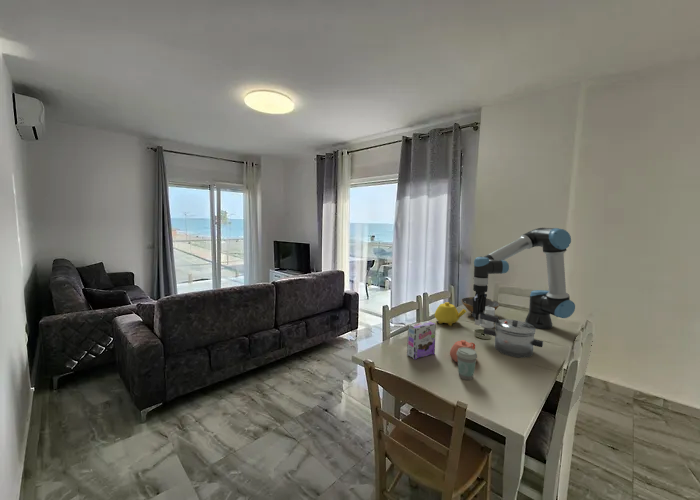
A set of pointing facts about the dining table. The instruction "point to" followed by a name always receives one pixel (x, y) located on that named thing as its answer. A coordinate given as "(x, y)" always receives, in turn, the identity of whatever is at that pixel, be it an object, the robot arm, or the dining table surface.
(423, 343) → the candy box
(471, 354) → the coffee cup
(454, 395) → the dining table surface
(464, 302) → the bowl
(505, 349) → the pot
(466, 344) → the sugar bowl
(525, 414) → the dining table surface
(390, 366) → the dining table surface
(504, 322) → the lid
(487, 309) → the mug
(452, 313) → the teapot
